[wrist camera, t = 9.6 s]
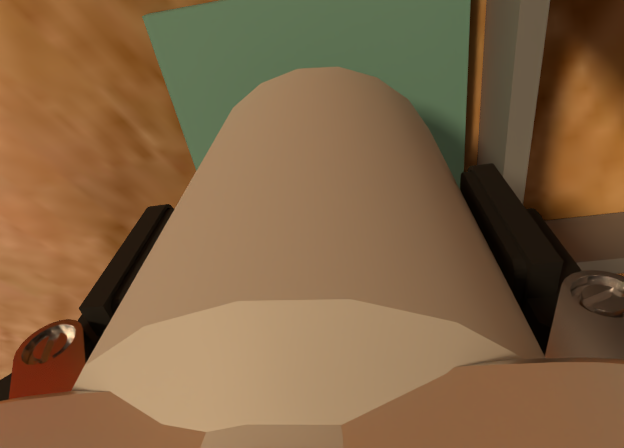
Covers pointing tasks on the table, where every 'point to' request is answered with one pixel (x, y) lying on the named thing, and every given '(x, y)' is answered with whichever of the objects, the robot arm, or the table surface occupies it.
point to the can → (308, 274)
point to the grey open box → (531, 125)
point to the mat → (315, 57)
